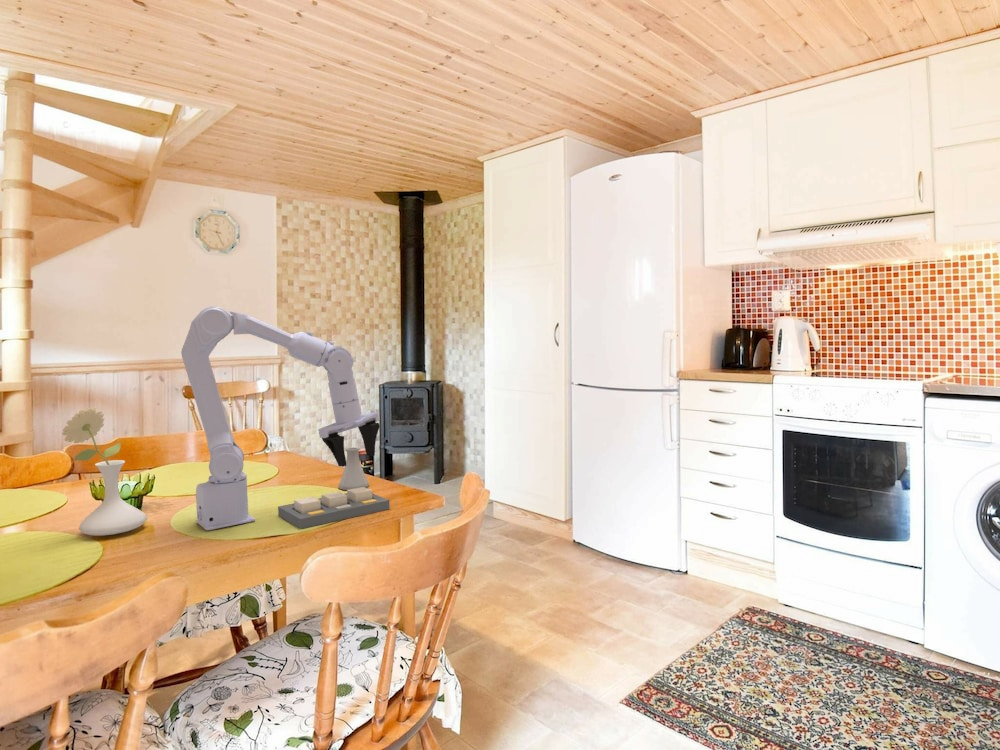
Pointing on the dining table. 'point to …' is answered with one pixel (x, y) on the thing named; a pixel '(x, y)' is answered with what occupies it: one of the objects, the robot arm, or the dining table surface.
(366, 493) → the button far
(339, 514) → the button board
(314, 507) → the button near
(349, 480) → the flask
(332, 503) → the button middle
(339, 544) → the dining table surface
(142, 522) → the flower in vase
